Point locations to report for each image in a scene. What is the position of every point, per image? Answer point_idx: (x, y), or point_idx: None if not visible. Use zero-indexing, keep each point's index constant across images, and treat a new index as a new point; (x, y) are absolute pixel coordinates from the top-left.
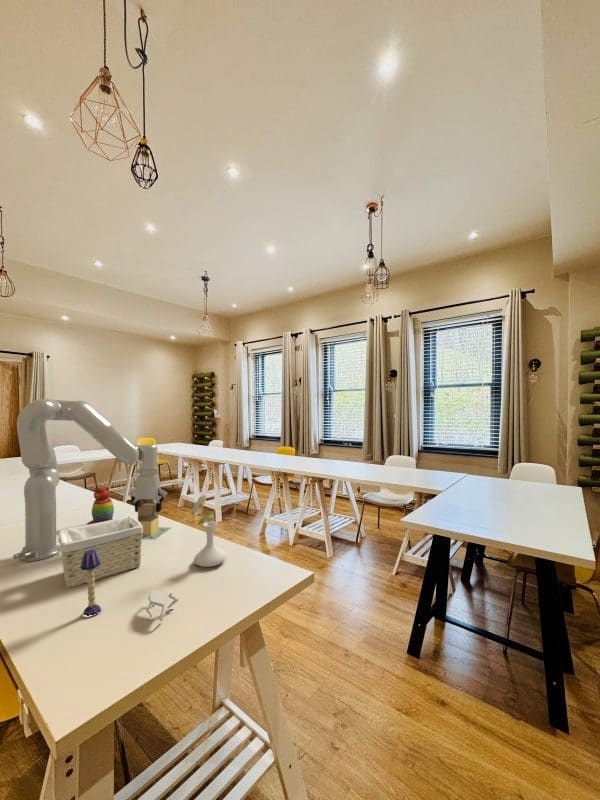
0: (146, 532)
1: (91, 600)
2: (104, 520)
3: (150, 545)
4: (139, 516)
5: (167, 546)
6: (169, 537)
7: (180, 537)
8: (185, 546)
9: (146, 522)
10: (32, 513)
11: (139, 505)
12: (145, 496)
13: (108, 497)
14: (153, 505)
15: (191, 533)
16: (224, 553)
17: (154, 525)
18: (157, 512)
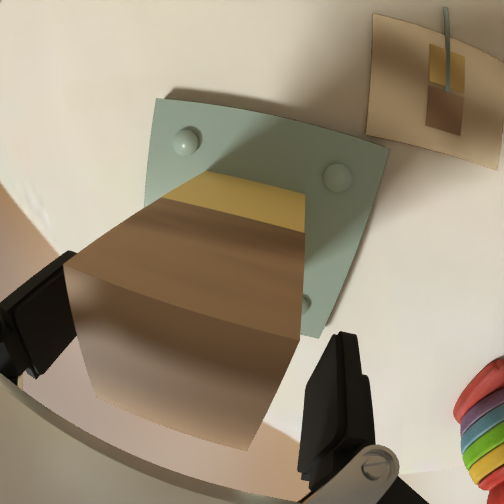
0: (235, 183)
1: None
2: (492, 396)
3: (172, 49)
4: (283, 252)
5: (87, 49)
6: (111, 168)
7: (67, 165)
8: (31, 65)
9: (211, 206)
10: None
11: (310, 424)
12: (23, 476)
13: (494, 489)
14: (97, 357)
15: (49, 213)
16: None
17: None
18: (71, 253)
